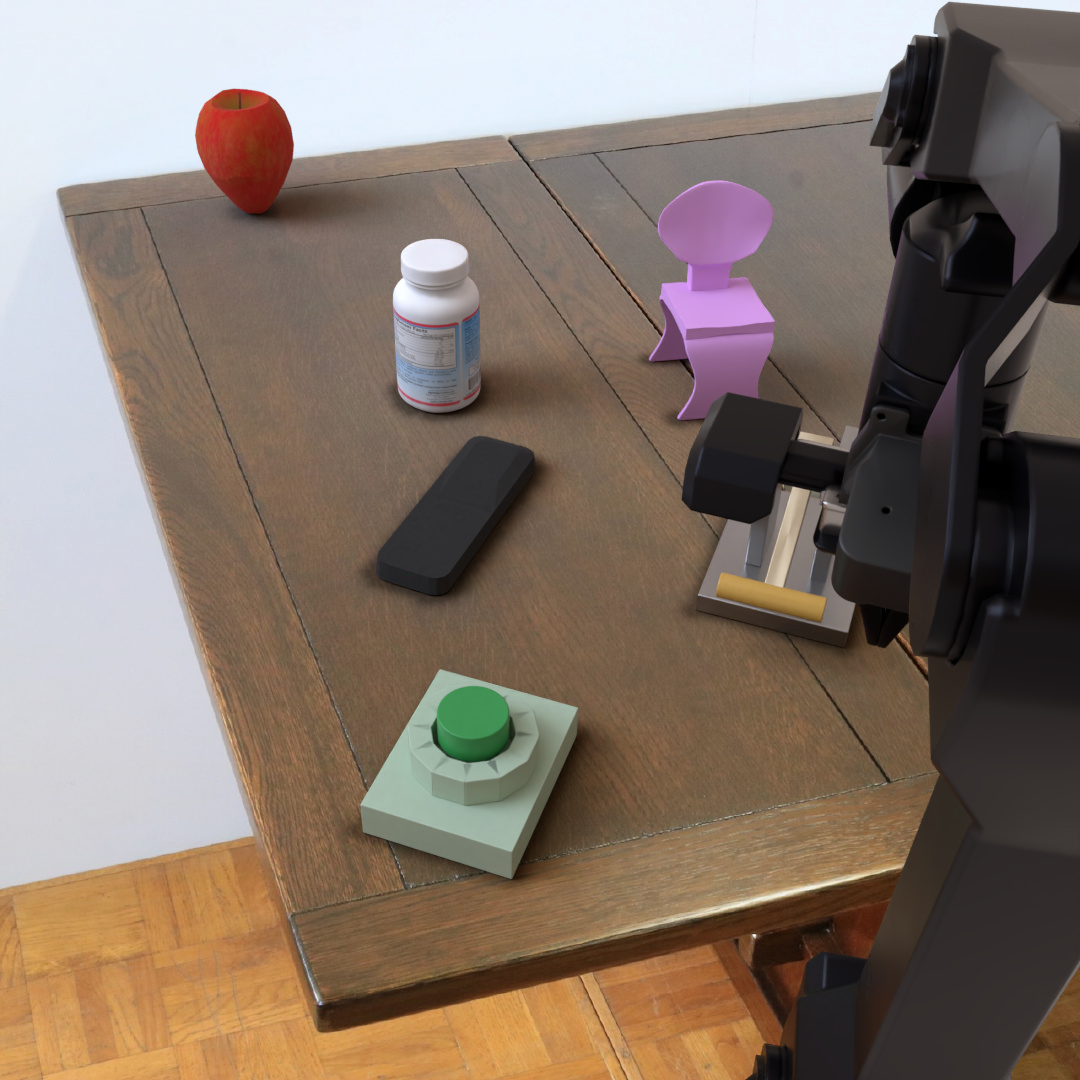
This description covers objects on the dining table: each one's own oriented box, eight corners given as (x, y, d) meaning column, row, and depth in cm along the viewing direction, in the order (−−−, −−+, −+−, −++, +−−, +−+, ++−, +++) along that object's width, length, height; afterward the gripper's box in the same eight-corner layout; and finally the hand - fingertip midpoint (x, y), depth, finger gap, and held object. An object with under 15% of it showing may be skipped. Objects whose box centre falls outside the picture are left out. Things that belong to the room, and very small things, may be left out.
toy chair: (666, 425, 95) (686, 233, 85) (635, 360, 101) (651, 174, 92) (777, 415, 96) (809, 224, 86) (739, 351, 102) (765, 167, 93)
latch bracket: (844, 648, 77) (875, 518, 71) (695, 610, 80) (712, 480, 73) (875, 527, 86) (906, 401, 80) (740, 496, 88) (759, 371, 82)
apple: (186, 206, 119) (168, 87, 112) (268, 181, 124) (254, 65, 117) (237, 241, 114) (220, 119, 107) (319, 213, 119) (309, 95, 112)
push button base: (512, 879, 64) (513, 828, 62) (362, 832, 66) (357, 780, 64) (576, 735, 72) (580, 683, 69) (440, 696, 74) (438, 645, 71)
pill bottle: (446, 361, 100) (443, 224, 93) (497, 396, 97) (498, 257, 90) (380, 388, 97) (372, 249, 90) (430, 426, 94) (425, 284, 87)
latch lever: (819, 630, 74) (823, 612, 72) (715, 604, 76) (715, 585, 73) (862, 466, 79) (867, 445, 77) (763, 445, 80) (765, 423, 78)
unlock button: (493, 770, 65) (493, 747, 64) (426, 750, 66) (425, 727, 65) (519, 719, 68) (519, 696, 67) (454, 701, 69) (453, 677, 67)
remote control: (443, 605, 80) (540, 463, 90) (442, 584, 79) (540, 443, 89) (371, 583, 82) (474, 445, 92) (369, 561, 80) (474, 425, 91)
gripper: (662, 406, 47) (632, 707, 57) (1222, 528, 43) (1082, 832, 53) (734, 266, 55) (696, 552, 65) (1211, 356, 51) (1092, 648, 61)
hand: (877, 640), depth 61 cm, fingers closed
